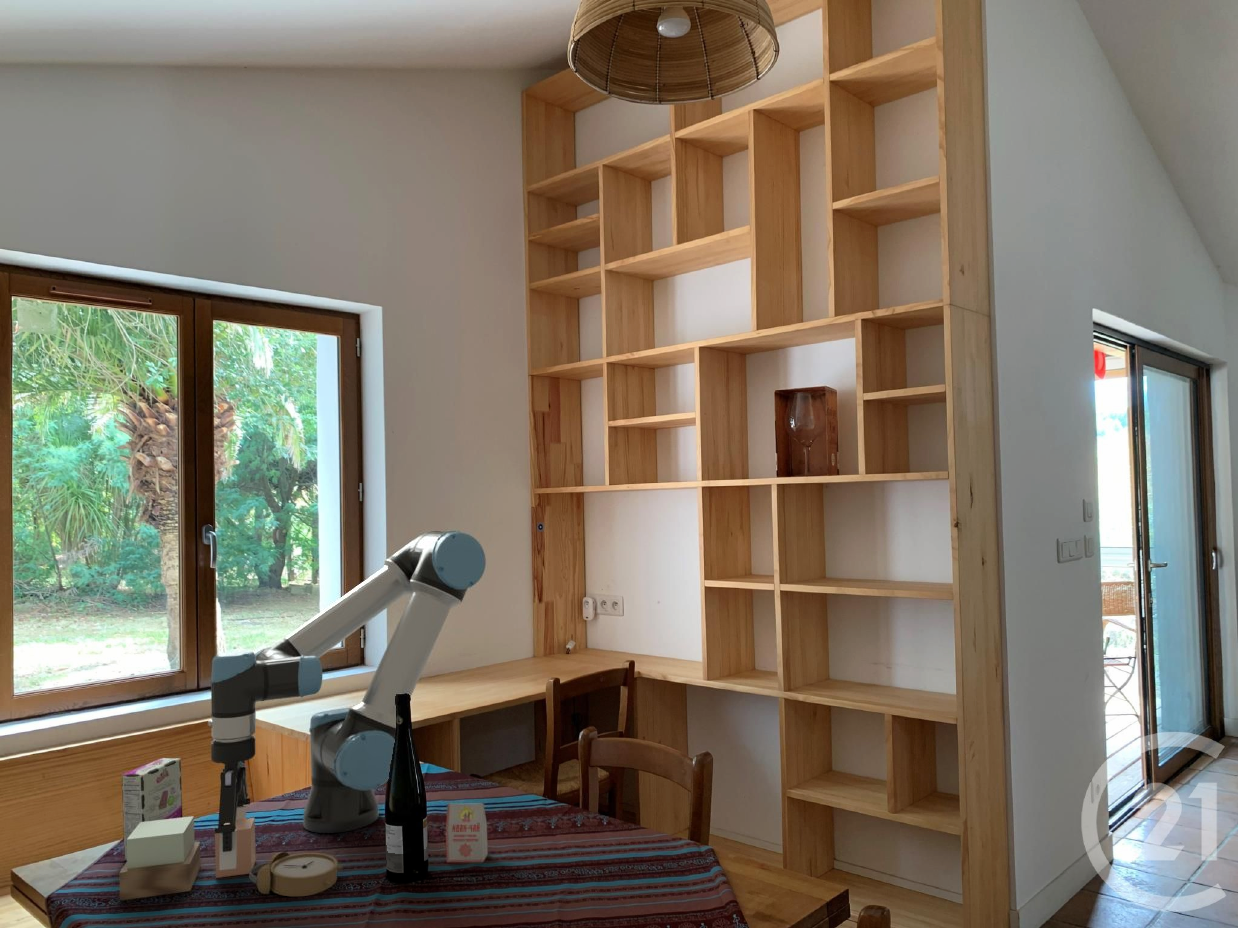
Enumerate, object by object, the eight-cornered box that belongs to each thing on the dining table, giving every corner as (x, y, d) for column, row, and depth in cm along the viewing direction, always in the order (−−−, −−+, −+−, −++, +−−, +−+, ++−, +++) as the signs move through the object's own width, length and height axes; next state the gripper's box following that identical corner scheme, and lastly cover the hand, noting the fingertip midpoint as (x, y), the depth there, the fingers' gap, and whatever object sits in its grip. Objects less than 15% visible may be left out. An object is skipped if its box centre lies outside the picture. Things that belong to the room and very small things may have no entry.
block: (255, 860, 172) (254, 817, 172) (251, 872, 166) (250, 828, 166) (220, 865, 170) (220, 821, 171) (215, 877, 165) (214, 832, 165)
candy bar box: (162, 839, 185) (160, 756, 186) (184, 840, 184) (182, 757, 185) (121, 860, 174) (120, 773, 175) (144, 862, 173) (143, 774, 174)
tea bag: (452, 854, 172) (450, 800, 172) (487, 854, 171) (485, 799, 171) (446, 862, 168) (445, 806, 168) (482, 862, 167) (481, 806, 168)
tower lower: (200, 868, 170) (200, 841, 170) (190, 892, 159) (189, 863, 159) (134, 877, 167) (134, 849, 167) (119, 902, 156) (119, 872, 156)
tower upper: (194, 843, 169) (193, 815, 169) (183, 861, 160) (183, 832, 160) (140, 849, 167) (140, 821, 167) (127, 868, 158) (126, 839, 158)
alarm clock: (328, 879, 155) (240, 866, 155) (323, 908, 155) (235, 896, 155) (347, 853, 166) (265, 842, 166) (343, 881, 166) (261, 869, 166)
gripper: (221, 723, 180) (221, 833, 179) (199, 756, 156) (199, 883, 155) (262, 720, 182) (262, 829, 181) (246, 752, 158) (246, 877, 157)
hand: (233, 854), depth 168 cm, fingers open, 13 cm apart
